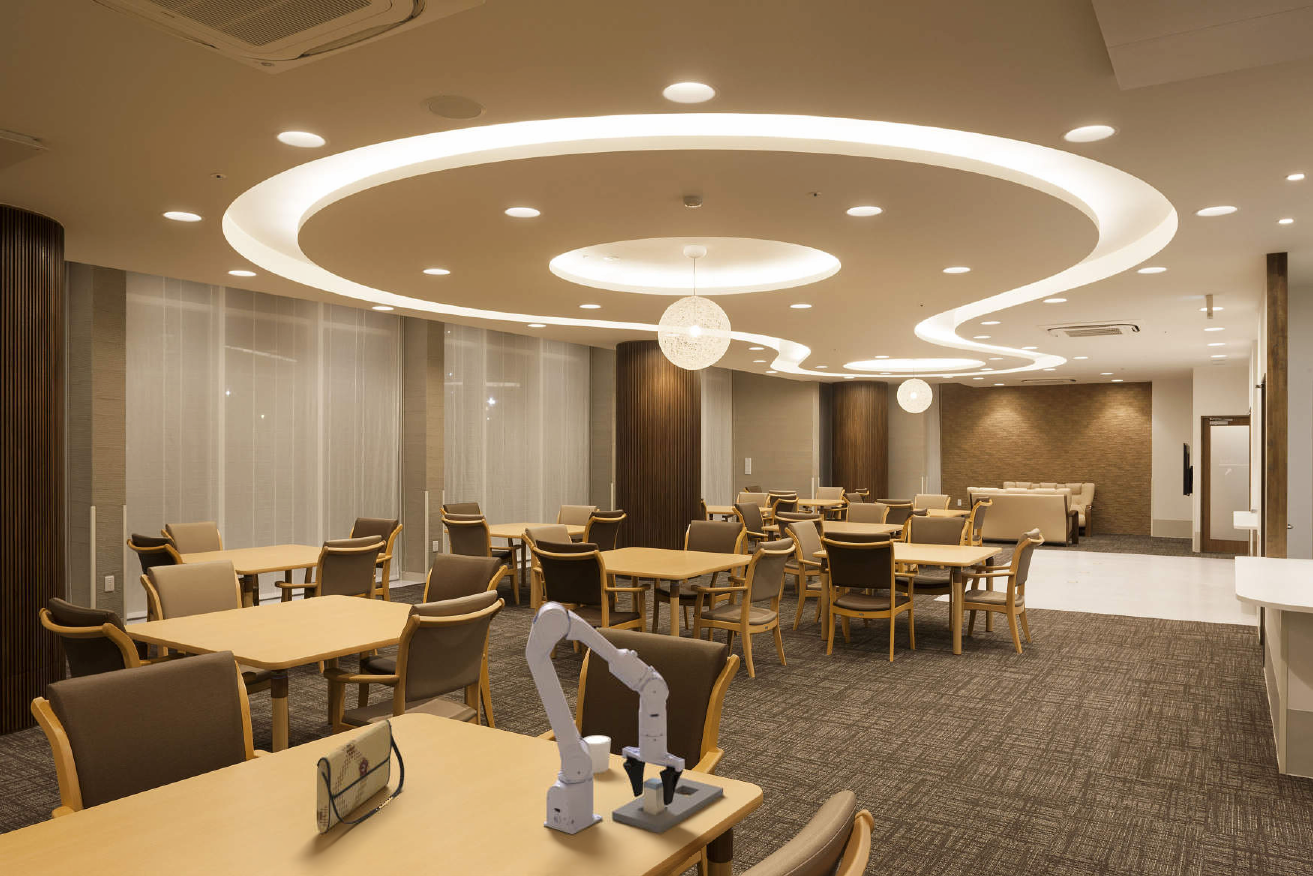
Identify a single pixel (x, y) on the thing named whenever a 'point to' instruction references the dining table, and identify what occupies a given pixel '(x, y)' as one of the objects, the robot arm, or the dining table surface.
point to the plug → (653, 796)
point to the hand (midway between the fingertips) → (653, 799)
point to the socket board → (669, 806)
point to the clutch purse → (355, 775)
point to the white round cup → (599, 752)
